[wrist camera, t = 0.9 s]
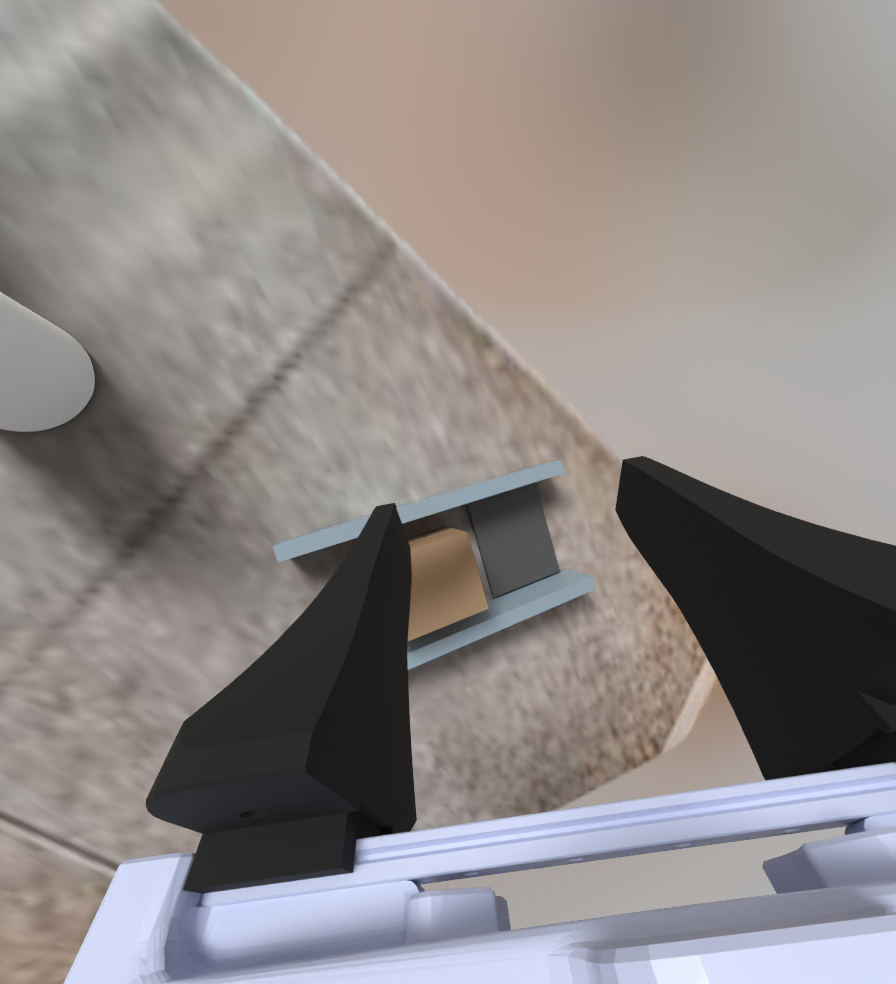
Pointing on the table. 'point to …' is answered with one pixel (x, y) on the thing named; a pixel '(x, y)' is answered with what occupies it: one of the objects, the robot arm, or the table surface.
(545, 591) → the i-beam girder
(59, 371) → the can
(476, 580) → the block
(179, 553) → the table surface
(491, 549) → the dark grey slab
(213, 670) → the table surface
